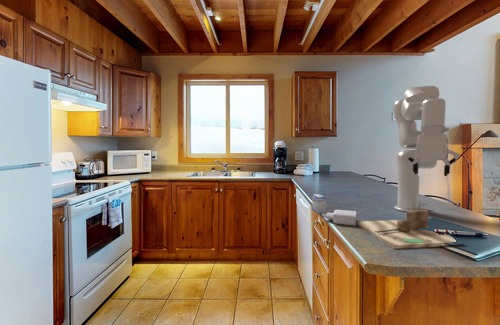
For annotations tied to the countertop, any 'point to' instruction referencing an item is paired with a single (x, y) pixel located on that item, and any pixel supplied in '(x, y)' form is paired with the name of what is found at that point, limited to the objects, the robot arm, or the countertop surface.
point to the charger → (342, 217)
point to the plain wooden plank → (412, 221)
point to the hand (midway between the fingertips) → (430, 174)
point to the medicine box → (318, 204)
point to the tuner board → (404, 235)
